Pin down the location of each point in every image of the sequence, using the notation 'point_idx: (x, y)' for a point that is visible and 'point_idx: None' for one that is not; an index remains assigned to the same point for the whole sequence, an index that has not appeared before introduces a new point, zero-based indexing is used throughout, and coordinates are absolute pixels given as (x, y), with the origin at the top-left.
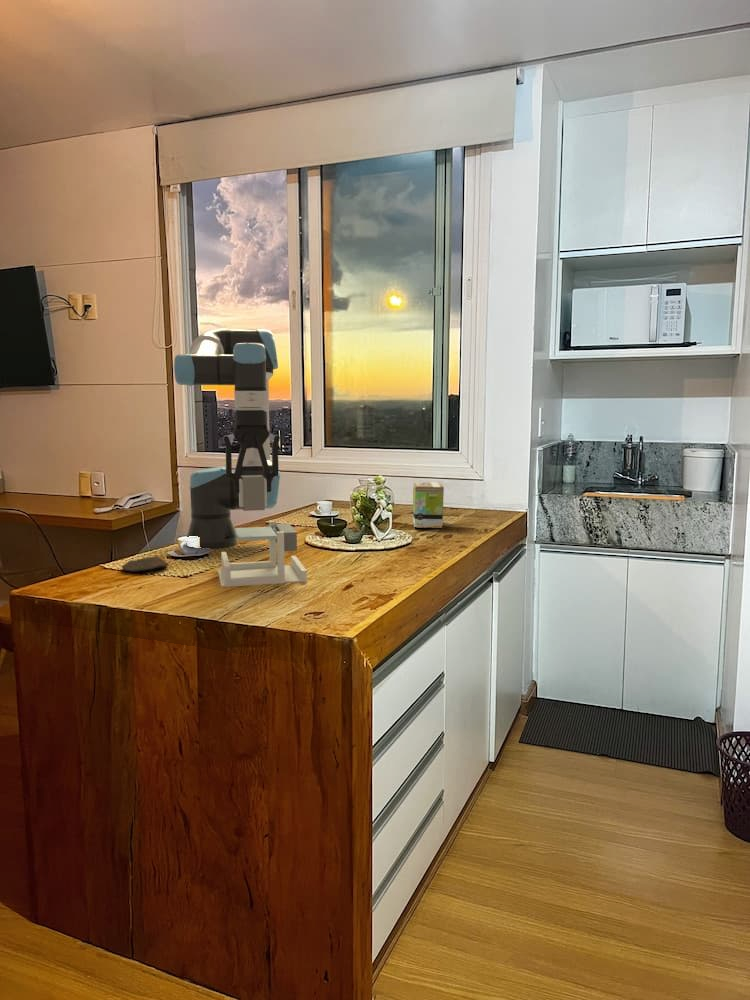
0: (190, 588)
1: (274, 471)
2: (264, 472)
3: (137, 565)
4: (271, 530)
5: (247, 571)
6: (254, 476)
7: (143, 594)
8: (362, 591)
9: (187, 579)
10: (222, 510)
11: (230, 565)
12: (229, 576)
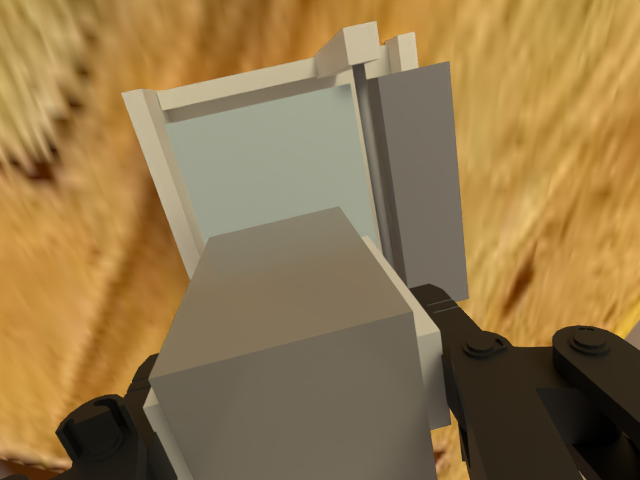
0: (118, 304)
1: (587, 467)
2: (464, 404)
3: None
4: (361, 199)
5: None
6: (337, 464)
7: (11, 360)
8: (541, 322)
9: (65, 205)
10: None
11: (176, 107)
12: None
